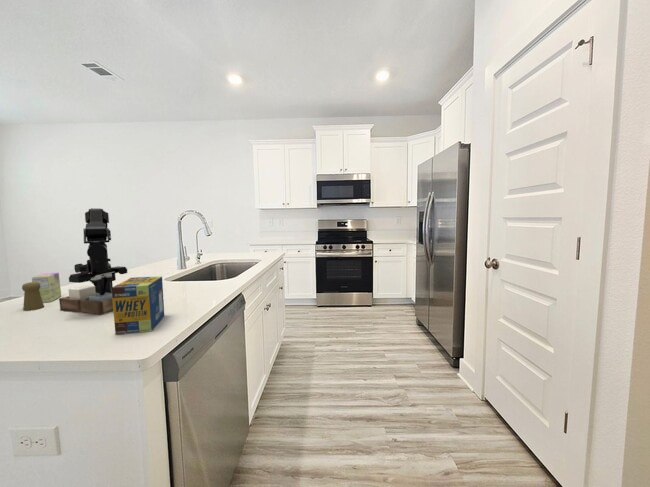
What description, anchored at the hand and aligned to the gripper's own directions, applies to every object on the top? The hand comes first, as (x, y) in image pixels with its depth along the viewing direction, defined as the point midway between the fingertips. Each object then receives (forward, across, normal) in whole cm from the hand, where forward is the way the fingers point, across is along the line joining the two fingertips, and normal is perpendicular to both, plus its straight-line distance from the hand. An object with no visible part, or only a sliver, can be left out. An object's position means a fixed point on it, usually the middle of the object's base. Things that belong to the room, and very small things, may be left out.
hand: (102, 294), depth 111 cm
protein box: (+6, +8, +30) cm, 31 cm away
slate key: (+4, 0, 0) cm, 4 cm away
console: (+6, 0, -6) cm, 8 cm away
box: (+6, -4, -40) cm, 40 cm away
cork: (+6, +6, -30) cm, 32 cm away
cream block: (+2, 0, -11) cm, 11 cm away
